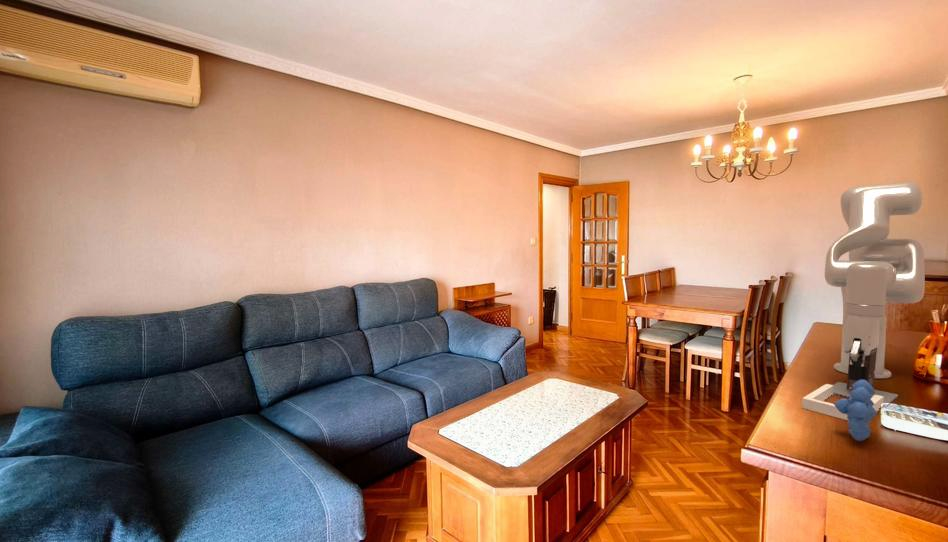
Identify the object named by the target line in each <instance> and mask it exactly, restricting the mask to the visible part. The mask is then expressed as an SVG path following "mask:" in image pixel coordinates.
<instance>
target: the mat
mask: <svg viewBox="0 0 948 542" xmlns="http://www.w3.org/2000/svg"><path fill="white" fill-rule="evenodd" d="M833 385H834V388H833V395H836V394H838V395H837V396H840V395H842V396H841V397H844V396H846V397H845V398H848V397H849V396H850V395H851V394H850V392H851V391H849V390H847V382H846V383H844V382H840V381H837V382H835V383H834V384H833ZM873 391H874V392H875V393H874V394H872V395H871V396H872V397H873V396H874V395H879V396H884V399H883V403H890V404H891V403H892V402H893V401H895V399H897V398H898V397H899V394H896V393H892V392H888V391H883V390H878V389H874V390H873Z"/></svg>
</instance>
